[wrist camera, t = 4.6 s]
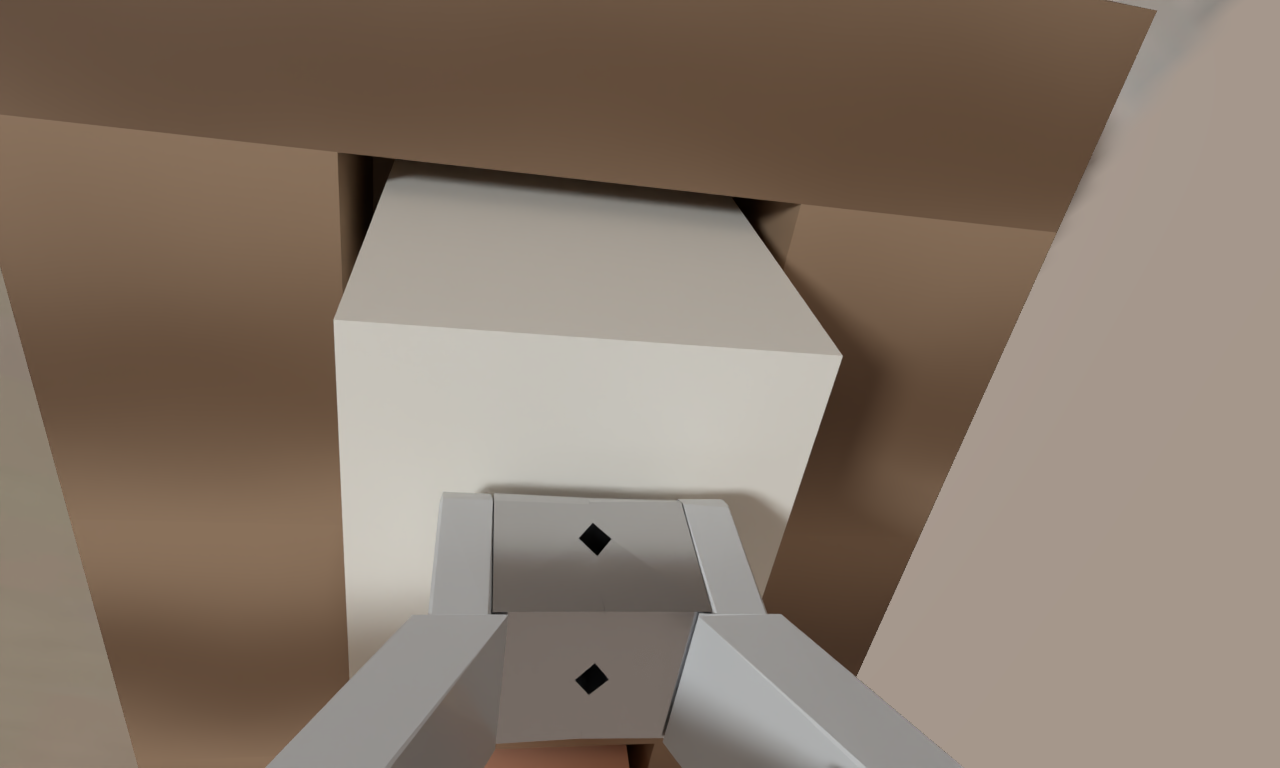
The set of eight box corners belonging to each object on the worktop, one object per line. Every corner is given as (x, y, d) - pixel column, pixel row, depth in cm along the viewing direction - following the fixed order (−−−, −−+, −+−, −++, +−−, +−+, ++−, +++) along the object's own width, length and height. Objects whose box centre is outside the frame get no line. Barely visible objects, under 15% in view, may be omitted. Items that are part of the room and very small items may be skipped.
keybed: (65, -193, 11) (-136, -225, 7) (995, -24, 14) (1156, 10, 10) (242, 820, 23) (197, 981, 20) (709, 797, 26) (739, 935, 22)
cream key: (396, 157, 11) (332, 319, 7) (729, 194, 12) (842, 356, 8) (395, 439, 14) (348, 680, 10) (672, 451, 15) (737, 673, 11)
